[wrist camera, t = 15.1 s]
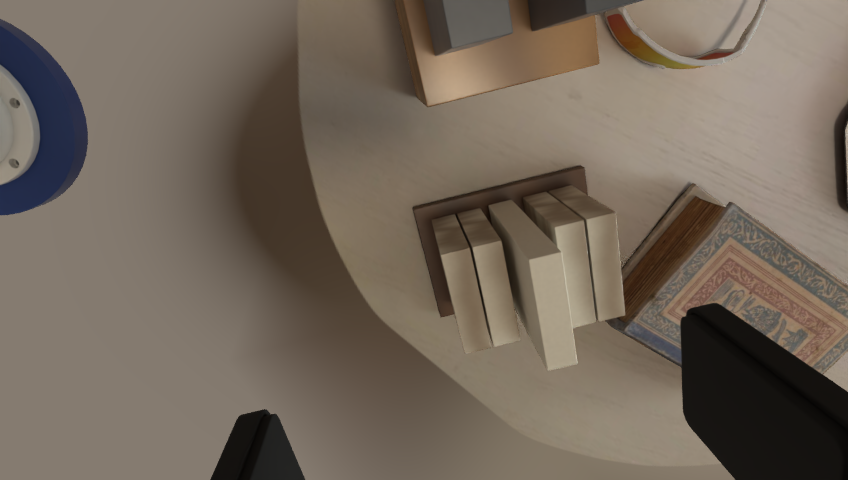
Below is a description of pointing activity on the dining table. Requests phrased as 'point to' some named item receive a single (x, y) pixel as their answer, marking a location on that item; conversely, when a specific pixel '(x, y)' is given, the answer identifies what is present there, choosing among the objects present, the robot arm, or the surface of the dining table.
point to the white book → (536, 284)
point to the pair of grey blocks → (500, 19)
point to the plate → (846, 157)
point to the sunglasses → (660, 57)
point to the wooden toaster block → (493, 54)
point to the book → (730, 283)
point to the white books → (485, 262)
